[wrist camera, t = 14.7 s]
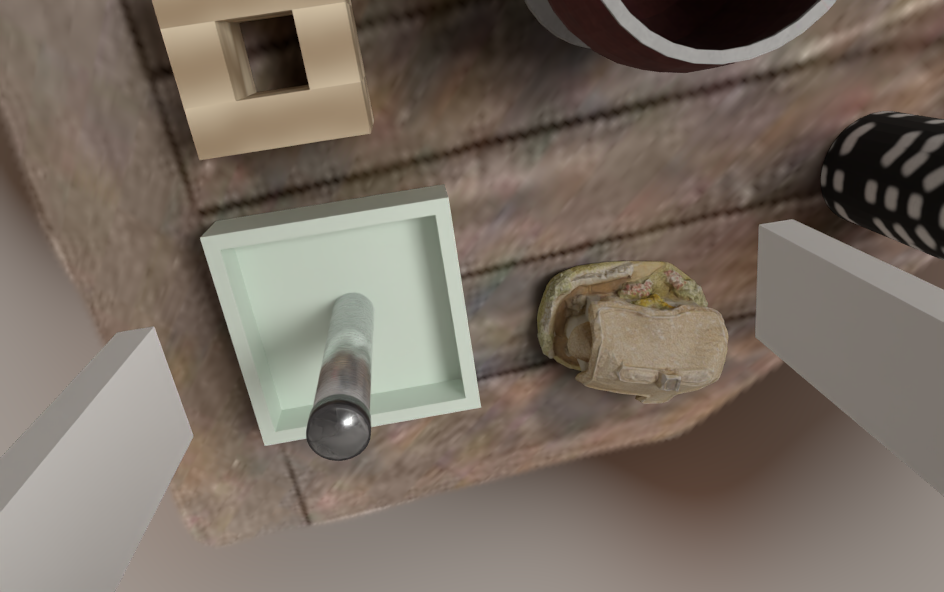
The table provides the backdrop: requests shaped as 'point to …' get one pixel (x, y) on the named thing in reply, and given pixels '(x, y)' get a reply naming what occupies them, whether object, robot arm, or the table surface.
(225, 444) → the table surface
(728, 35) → the mate gourd
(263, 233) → the tray
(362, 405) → the pin
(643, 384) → the ceramic model
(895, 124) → the white-spotted black cylinder
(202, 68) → the hitch block
